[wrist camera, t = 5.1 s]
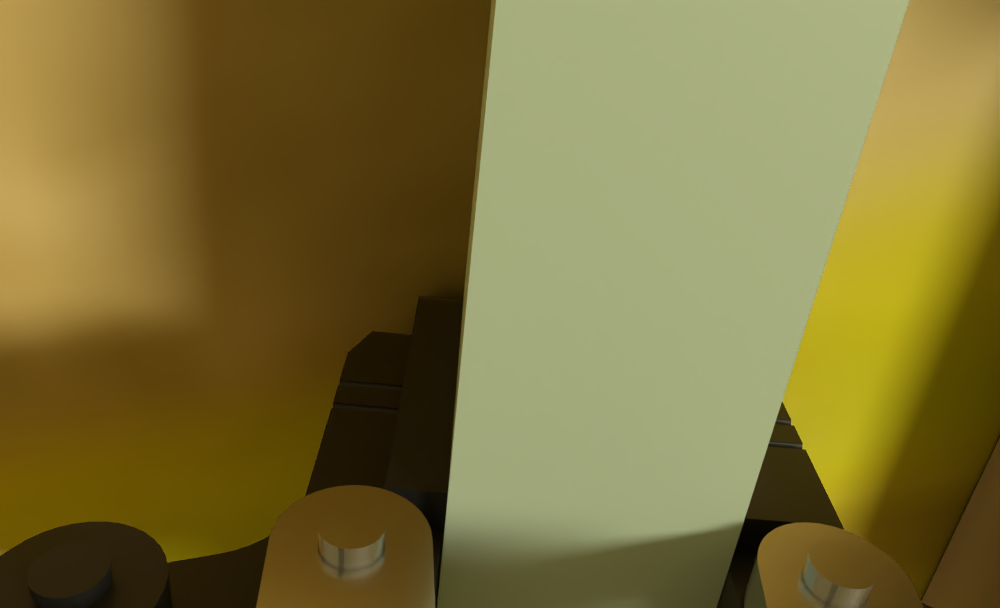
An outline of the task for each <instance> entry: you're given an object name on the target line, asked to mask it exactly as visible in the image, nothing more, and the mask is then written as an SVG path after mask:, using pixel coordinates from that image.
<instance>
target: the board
mask: <svg viewBox="0 0 1000 608" xmlns="http://www.w3.org/2000/svg"><path fill="white" fill-rule="evenodd" d="M921 602H922V603H924V604H926V605H928V606H931V607H933V608H1000V438H999V440H998V442H997V444H996V446H995V449H994V451H993V453H992V455H991V457H990V459H989V461H988V463H987V465H986V467H985V469H984V472H983V474H982V476H981V478H980V480H979V482H978V484H977V486H976V488H975V490H974V492H973V494H972V497H971V499H970V501H969V503H968V505H967V507H966V509H965V511H964V513H963V515H962V517H961V520H960V522H959V524H958V526H957V528H956V530H955V532H954V534H953V536H952V538H951V540H950V543H949V545H948V547H947V549H946V551H945V553H944V555H943V557H942V559H941V561H940V563H939V566H938V568H937V570H936V572H935V574H934V576H933V578H932V580H931V582H930V584H929V586H928V589H927V591H926V593H925V595H924V597H923V599H922V601H921Z"/></svg>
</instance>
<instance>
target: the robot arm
mask: <svg viewBox="0 0 1000 608" xmlns="http://www.w3.org/2000/svg"><path fill="white" fill-rule="evenodd" d="M462 311H463V300H459V299H449V298H438V297H427V296H419V300H418V305H417V310H416V316H415V321H414V327H413V332H412V335H406V334H395V333H384V332H373V331H372V332H371V333H370V334H369V335H368V336H366V337H365V338H364V339H363V340H362V341H361V342H360V343H359V344H357V345H356V346H355V347H354V348H353V349H352V350H351V351H350V352H348V354H347V358H346V361H345V365H344V368H343V371H342V375H341V378H340V385H338V388H337V391H336V395H335V398H334V402H333V408H331V412H330V415H329V418H328V422H327V425H326V428H325V432H324V435H323V439H322V442H321V445H320V449H319V452H318V455H317V459H316V462H315V466H314V469H313V472H312V476H311V479H310V482H309V486H308V489H307V492H306V496H305V497H303V498H301V499H300V500H298V501H296V502H295V503H293V504H292V505H291V506H290V507H289V508H287V509H286V510H285V511H284V512H283V513H282V515H281V516H280V517H279V518H278V519H277V521H276V523H275V524H274V526H273V528H272V531H271V534H270V536H268V537H267V538H265V539H263V540H261V541H259V542H257V543H254V544H252V545H250V546H247V547H244V548H241V549H238V550H235V551H230V552H226V553H221V554H216V555H210V556H204V557H198V558H193V559H187V560H181V561H175V562H169V563H167V560H166V556H165V554H164V552H163V550H162V548H161V546H160V545H159V544H158V543H157V542H156V541H155V540H154V539H153V538H152V537H150V536H149V535H148V534H146V533H145V532H143V531H141V530H139V529H136V528H134V527H131V526H127V525H124V524H120V523H112V522H85V523H76V524H71V525H66V526H62V527H58V528H55V529H52V530H49V531H46V532H43V533H41V534H38V535H36V536H34V537H32V538H30V539H27V540H26V541H24V542H22V543H20V544H19V545H17V546H15V547H14V548H12V549H10V550H9V551H7V552H6V553H4V554H3V555H1V556H0V608H437V600H438V590H439V579H440V569H441V559H442V548H443V538H444V528H445V518H446V507H447V497H448V485H449V473H450V460H451V448H452V435H453V423H454V410H455V398H456V385H457V373H458V360H459V348H460V336H461V323H462ZM717 608H933V607H931V606H928V605H926V604H924V603H922V602H921V600H920V598H919V595H918V593H917V591H916V589H915V587H914V585H913V583H912V581H911V579H910V578H909V577H908V575H907V574H906V572H905V571H904V570H903V569H902V568H901V567H900V565H899V564H898V563H897V562H896V561H895V560H894V559H893V558H891V557H890V556H889V555H888V554H887V553H885V552H884V551H883V550H881V549H880V548H878V547H877V546H875V545H874V544H873V543H871V542H869V541H867V540H865V539H864V538H862V537H860V536H858V535H856V534H853V533H851V532H848V531H846V530H844V528H843V526H842V524H841V522H840V520H839V518H838V516H837V514H836V512H835V510H834V507H833V505H832V503H831V501H830V499H829V497H828V495H827V493H826V491H825V489H824V487H823V485H822V483H821V481H820V479H819V477H818V474H817V472H816V470H815V468H814V466H813V464H812V462H811V460H810V458H809V456H808V454H807V452H806V450H803V449H802V441H801V439H800V437H799V435H798V433H797V431H796V429H795V427H794V426H792V425H791V419H790V417H789V415H788V413H787V410H786V408H785V406H784V404H783V402H782V403H781V406H780V409H779V412H778V416H777V419H776V422H775V425H774V428H773V431H772V434H771V438H770V441H769V444H768V447H767V450H766V453H765V456H764V460H763V463H762V466H761V469H760V472H759V475H758V478H757V482H756V485H755V488H754V491H753V494H752V497H751V501H750V504H749V507H748V510H747V513H746V516H745V519H744V523H743V526H742V529H741V532H740V535H739V538H738V541H737V545H736V548H735V551H734V554H733V557H732V560H731V563H730V567H729V570H728V573H727V576H726V579H725V582H724V586H723V589H722V592H721V595H720V598H719V601H718V604H717Z"/></svg>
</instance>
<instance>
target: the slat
mask: <svg viewBox="0 0 1000 608" xmlns="http://www.w3.org/2000/svg"><path fill="white" fill-rule="evenodd" d="M908 3H909V0H492V1H491V11H490V22H489V32H488V43H487V53H486V64H485V74H484V85H483V95H482V106H481V117H480V127H479V138H478V148H477V159H476V169H475V180H474V190H473V201H472V211H471V222H470V233H469V243H468V254H467V264H466V275H465V285H464V296H463V311H462V323H461V336H460V348H459V360H458V373H457V385H456V398H455V410H454V423H453V435H452V448H451V460H450V473H449V485H448V497H447V507H446V518H445V528H444V538H443V548H442V559H441V569H440V579H439V590H438V600H437V608H717V604H718V601H719V598H720V595H721V592H722V589H723V586H724V582H725V579H726V576H727V573H728V570H729V567H730V563H731V560H732V557H733V554H734V551H735V548H736V545H737V541H738V538H739V535H740V532H741V529H742V526H743V523H744V519H745V516H746V513H747V510H748V507H749V504H750V501H751V497H752V494H753V491H754V488H755V485H756V482H757V478H758V475H759V472H760V469H761V466H762V463H763V460H764V456H765V453H766V450H767V447H768V444H769V441H770V438H771V434H772V431H773V428H774V425H775V422H776V419H777V416H778V412H779V409H780V406H781V403H782V400H783V397H784V393H785V390H786V387H787V384H788V381H789V378H790V375H791V371H792V368H793V365H794V362H795V359H796V356H797V353H798V349H799V346H800V343H801V340H802V337H803V334H804V331H805V327H806V324H807V321H808V318H809V315H810V312H811V308H812V305H813V302H814V299H815V296H816V293H817V290H818V286H819V283H820V280H821V277H822V274H823V271H824V268H825V264H826V261H827V258H828V255H829V252H830V249H831V246H832V242H833V239H834V236H835V233H836V230H837V227H838V223H839V220H840V217H841V214H842V211H843V208H844V205H845V201H846V198H847V195H848V192H849V189H850V186H851V183H852V179H853V176H854V173H855V170H856V167H857V164H858V161H859V157H860V154H861V151H862V148H863V145H864V142H865V138H866V135H867V132H868V129H869V126H870V123H871V120H872V116H873V113H874V110H875V107H876V104H877V101H878V98H879V94H880V91H881V88H882V85H883V82H884V79H885V76H886V72H887V69H888V66H889V63H890V60H891V57H892V53H893V50H894V47H895V44H896V41H897V38H898V35H899V31H900V28H901V25H902V22H903V19H904V16H905V13H906V9H907V6H908Z"/></svg>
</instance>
